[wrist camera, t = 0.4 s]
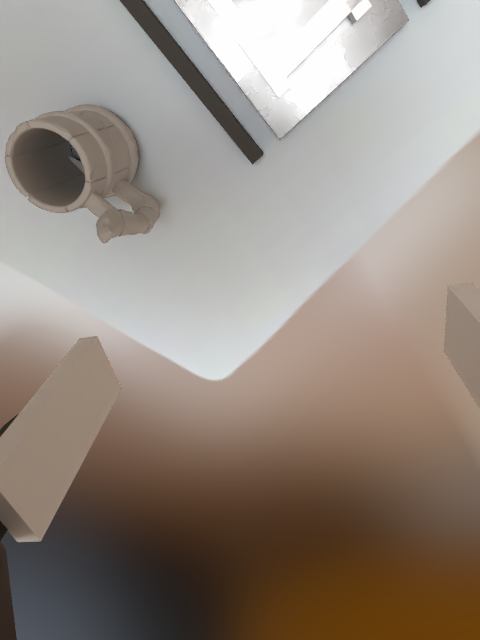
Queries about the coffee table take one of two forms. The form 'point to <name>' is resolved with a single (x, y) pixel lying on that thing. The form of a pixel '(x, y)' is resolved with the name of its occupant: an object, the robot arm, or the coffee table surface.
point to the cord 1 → (193, 77)
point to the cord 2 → (422, 2)
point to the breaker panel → (292, 47)
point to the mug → (81, 168)
